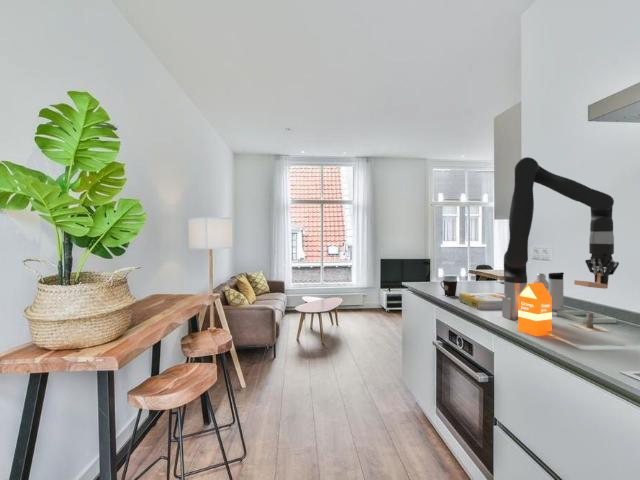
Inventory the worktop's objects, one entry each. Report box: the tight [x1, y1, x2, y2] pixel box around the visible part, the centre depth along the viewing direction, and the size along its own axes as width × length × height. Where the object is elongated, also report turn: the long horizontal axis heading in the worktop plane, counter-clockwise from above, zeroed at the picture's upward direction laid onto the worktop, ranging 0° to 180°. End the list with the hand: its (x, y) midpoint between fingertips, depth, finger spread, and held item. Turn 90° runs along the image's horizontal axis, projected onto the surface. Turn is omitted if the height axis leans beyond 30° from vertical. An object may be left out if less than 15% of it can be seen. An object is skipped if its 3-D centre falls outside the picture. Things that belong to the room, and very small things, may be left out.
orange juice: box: [517, 282, 553, 337], centre depth 125 cm, size 8×9×20 cm
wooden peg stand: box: [568, 312, 612, 332], centre depth 127 cm, size 10×10×7 cm
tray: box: [556, 310, 617, 324], centre depth 140 cm, size 15×15×3 cm
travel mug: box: [547, 272, 565, 313], centre depth 160 cm, size 6×7×20 cm
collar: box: [573, 273, 610, 289], centre depth 128 cm, size 10×7×6 cm
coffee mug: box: [440, 279, 458, 297], centre depth 204 cm, size 12×9×10 cm
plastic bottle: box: [533, 273, 549, 291], centre depth 154 cm, size 6×7×20 cm
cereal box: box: [458, 292, 504, 310], centre depth 175 cm, size 20×6×28 cm
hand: (601, 284), depth 128 cm, fingers closed on collar
